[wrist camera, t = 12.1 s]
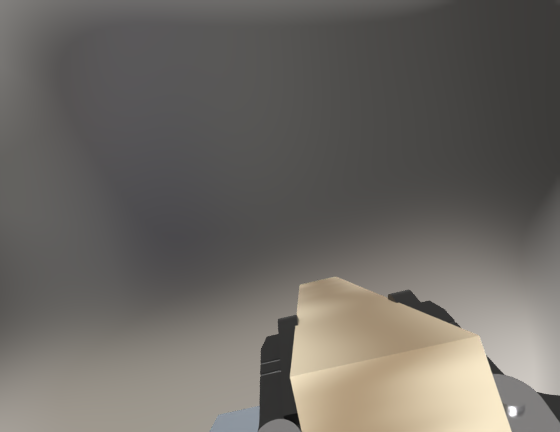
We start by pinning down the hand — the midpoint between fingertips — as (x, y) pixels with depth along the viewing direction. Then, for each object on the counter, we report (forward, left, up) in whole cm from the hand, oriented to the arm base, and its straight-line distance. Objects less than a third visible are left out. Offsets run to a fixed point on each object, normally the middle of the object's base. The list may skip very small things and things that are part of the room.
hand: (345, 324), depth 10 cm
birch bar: (0, +6, -3) cm, 6 cm away
